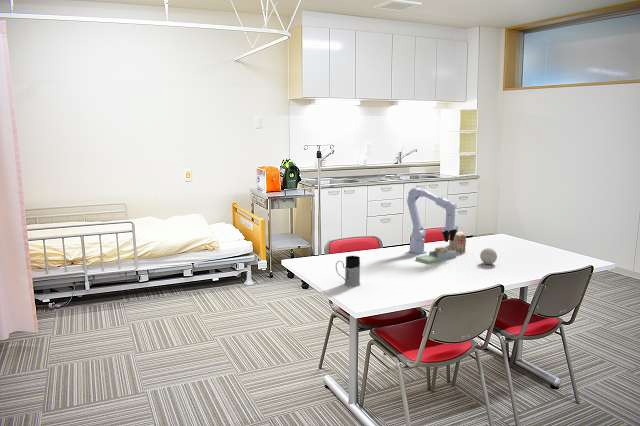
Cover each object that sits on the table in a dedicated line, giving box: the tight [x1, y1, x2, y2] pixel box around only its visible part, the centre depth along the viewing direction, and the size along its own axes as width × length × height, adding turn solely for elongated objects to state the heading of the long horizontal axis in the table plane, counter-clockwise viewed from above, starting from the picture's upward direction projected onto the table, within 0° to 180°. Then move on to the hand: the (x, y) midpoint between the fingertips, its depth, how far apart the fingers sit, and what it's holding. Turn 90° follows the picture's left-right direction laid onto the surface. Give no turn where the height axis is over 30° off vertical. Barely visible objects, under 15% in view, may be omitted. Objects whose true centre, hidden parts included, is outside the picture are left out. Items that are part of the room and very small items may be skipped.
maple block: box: [434, 246, 446, 256], centre depth 337 cm, size 5×5×5 cm
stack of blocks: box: [448, 230, 467, 253], centre depth 362 cm, size 21×6×12 cm, turn 179°
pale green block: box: [415, 247, 457, 265], centre depth 335 cm, size 12×27×4 cm, turn 126°
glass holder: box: [335, 255, 361, 288], centre depth 280 cm, size 9×14×15 cm, turn 110°
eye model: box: [479, 247, 498, 265], centre depth 324 cm, size 10×10×10 cm
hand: (449, 241), depth 340 cm, fingers open, 5 cm apart
